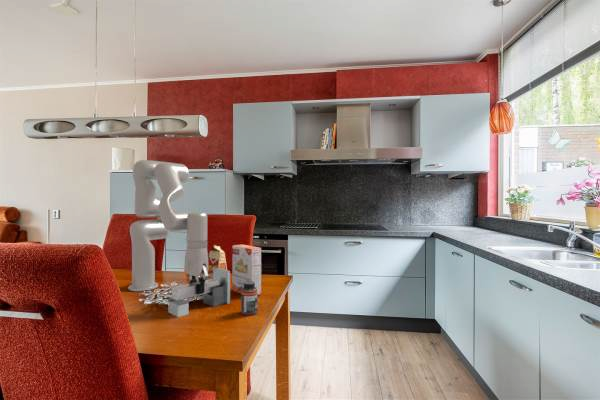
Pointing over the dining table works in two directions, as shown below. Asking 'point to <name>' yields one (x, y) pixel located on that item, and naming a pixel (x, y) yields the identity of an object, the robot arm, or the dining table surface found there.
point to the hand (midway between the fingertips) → (196, 291)
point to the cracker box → (246, 267)
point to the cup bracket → (219, 289)
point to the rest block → (178, 307)
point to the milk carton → (216, 260)
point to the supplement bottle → (249, 298)
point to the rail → (193, 289)
